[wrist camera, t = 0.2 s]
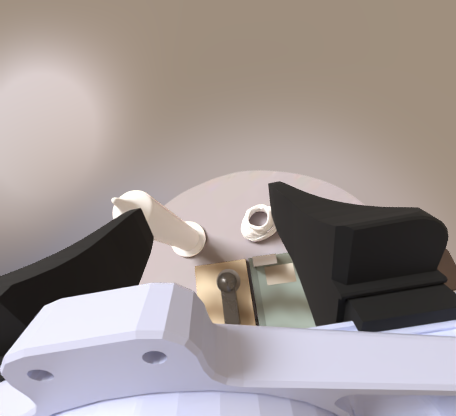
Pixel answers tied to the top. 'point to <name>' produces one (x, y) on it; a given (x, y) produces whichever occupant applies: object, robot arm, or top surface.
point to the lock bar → (229, 298)
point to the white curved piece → (258, 232)
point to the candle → (163, 223)
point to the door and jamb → (258, 291)
